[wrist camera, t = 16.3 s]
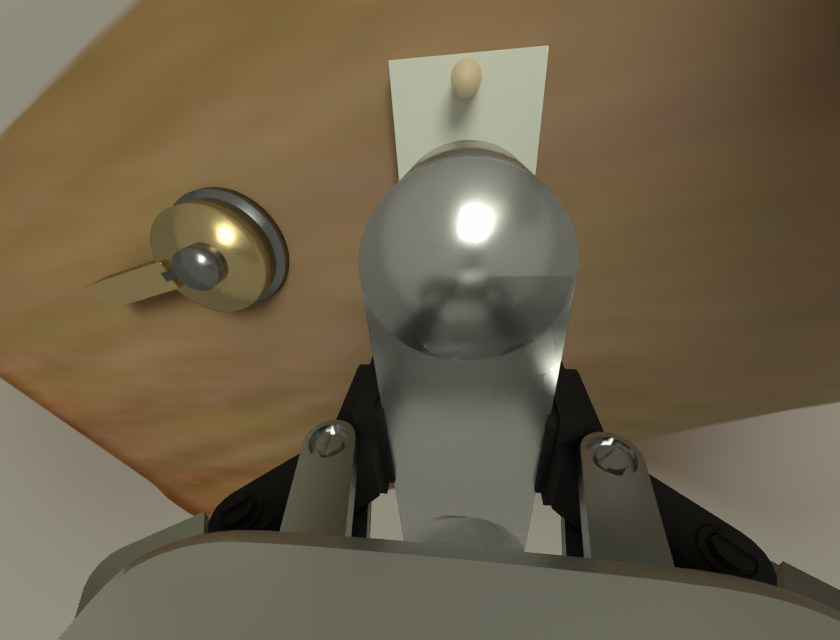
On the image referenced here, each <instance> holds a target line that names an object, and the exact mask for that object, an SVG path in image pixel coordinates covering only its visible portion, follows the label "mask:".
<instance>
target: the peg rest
mask: <svg viewBox="0 0 840 640" xmlns="http://www.w3.org/2000/svg"><path fill="white" fill-rule="evenodd" d="M548 50H549V45H548V46H538V47H527V48H517V49H506V50H495V51H485V52H474V53H463V54H453V55H442V56H432V57H421V58H410V59H400V60H389V71H390V83H391V94H392V105H393V117H394V128H395V139H396V151H397V162H398V173H399V181H400V180H401V179H402V178H403V176H404V175H405V174H406V173H407V172H408V171H409V170H410V169H411V168H412V167H413V166H414V165H415V164H416V163H417V162H418V160H420V159H421V158H422V157H423V156H424V155H426V154H427V153H428V152H430V151H432V150H433V149H435V148H437V147H439V146H441V145H444V144H446V143H450V142H453V141H459V140H480V141H486V142H489V143H492V144H495V145H497V146H499V147H501V148H503V149H505V150H507V151H508V152H509V153H511V154H512V155H513V156H515V157H516V158H517V159H518V160H519V161H520V162H521V163H522V164H523V165H524V166H525V167H526V168H527V169H528V170H529V171H531V172H532V173H533V174H534V175H535V173H536V163H537V154H538V145H539V135H540V126H541V116H542V107H543V97H544V88H545V78H546V69H547V59H548Z"/></svg>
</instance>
